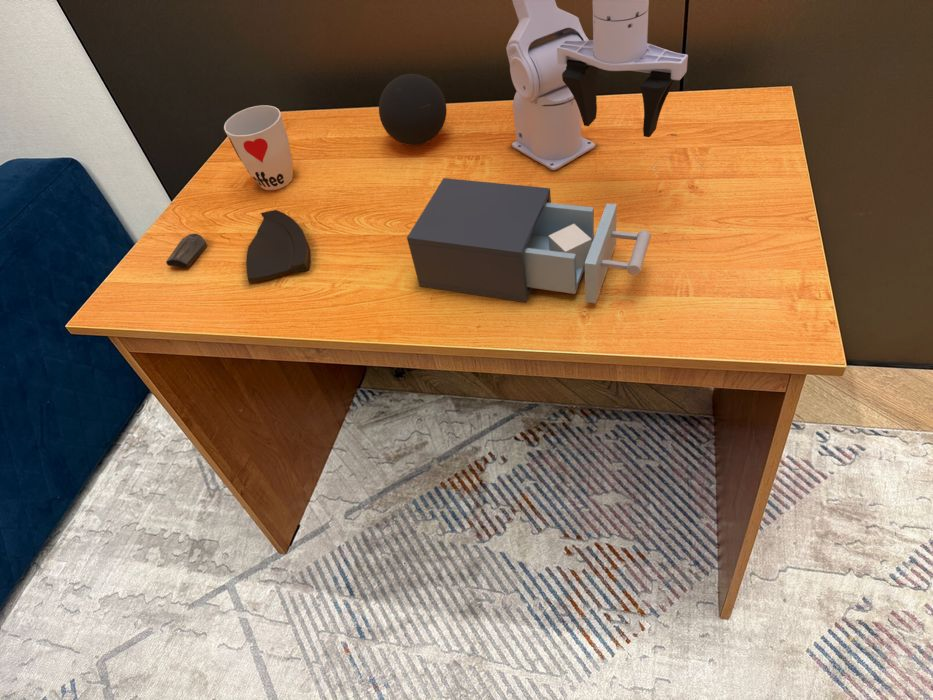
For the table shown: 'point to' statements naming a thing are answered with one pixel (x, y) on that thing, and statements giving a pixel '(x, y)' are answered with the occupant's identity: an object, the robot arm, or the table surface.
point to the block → (187, 251)
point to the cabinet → (477, 237)
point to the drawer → (561, 267)
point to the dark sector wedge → (277, 248)
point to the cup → (262, 145)
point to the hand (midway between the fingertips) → (619, 127)
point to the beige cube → (571, 243)
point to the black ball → (412, 109)
